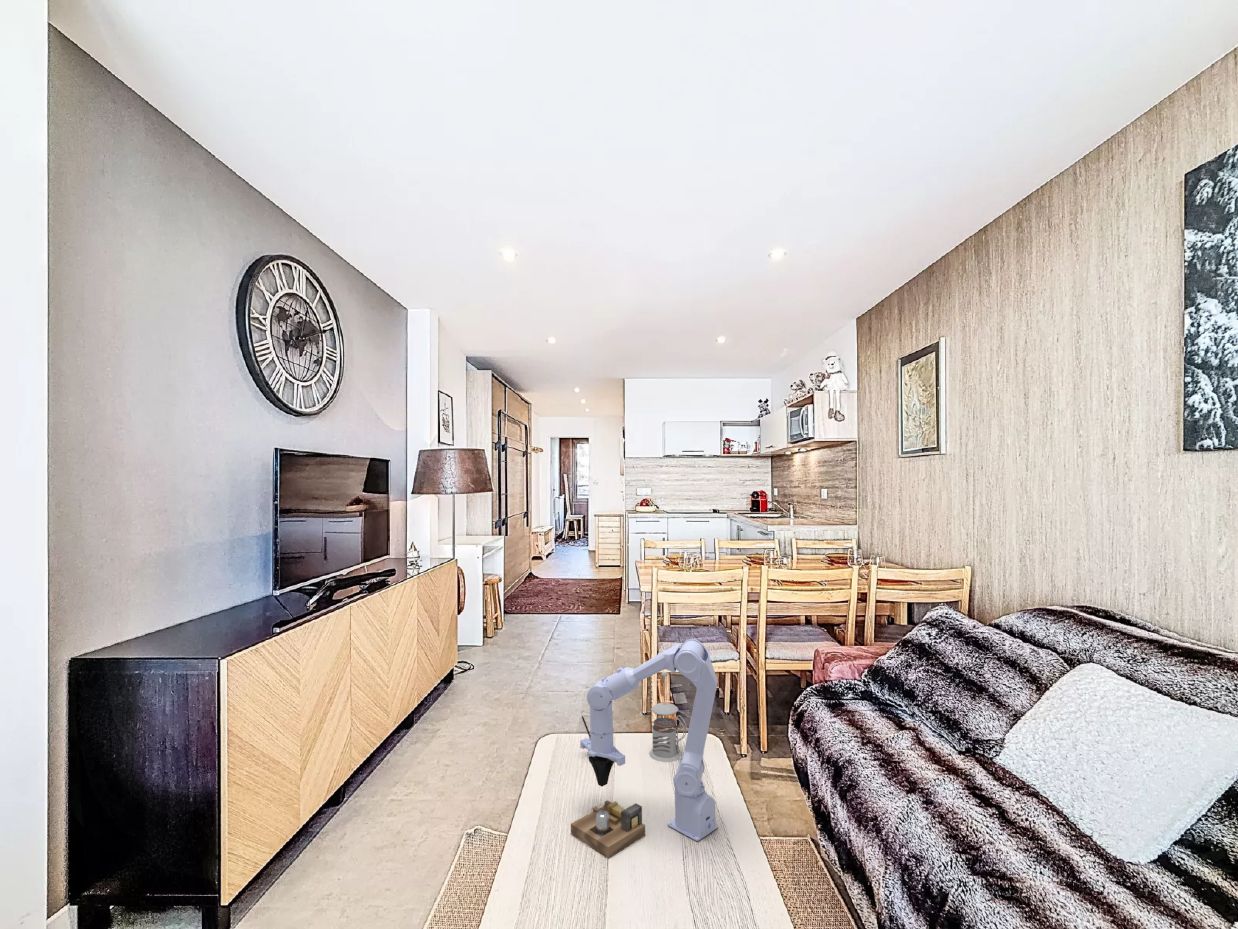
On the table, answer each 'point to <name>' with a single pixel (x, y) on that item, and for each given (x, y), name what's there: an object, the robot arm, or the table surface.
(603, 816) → the cylinder
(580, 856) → the table surface
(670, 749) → the french press
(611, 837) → the dock
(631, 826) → the lock pin
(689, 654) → the robot arm
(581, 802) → the table surface
